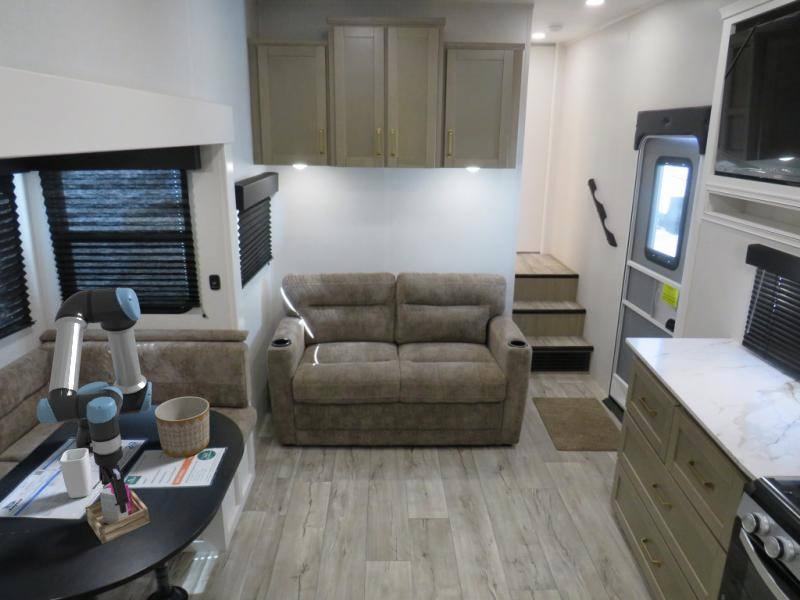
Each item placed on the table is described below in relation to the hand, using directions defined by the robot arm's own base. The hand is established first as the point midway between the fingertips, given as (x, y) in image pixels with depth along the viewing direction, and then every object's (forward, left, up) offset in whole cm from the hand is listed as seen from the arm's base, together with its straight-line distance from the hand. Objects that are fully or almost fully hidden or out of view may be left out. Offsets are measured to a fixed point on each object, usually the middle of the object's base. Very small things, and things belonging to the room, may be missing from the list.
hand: (117, 511), depth 169 cm
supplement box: (0, 0, -4) cm, 4 cm away
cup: (-23, -4, -4) cm, 24 cm away
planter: (-27, +34, -4) cm, 44 cm away
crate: (0, 0, -4) cm, 4 cm away
